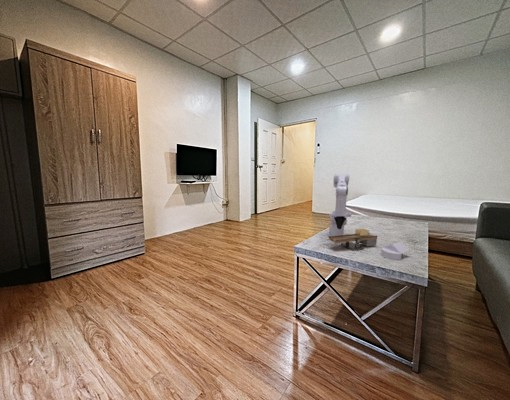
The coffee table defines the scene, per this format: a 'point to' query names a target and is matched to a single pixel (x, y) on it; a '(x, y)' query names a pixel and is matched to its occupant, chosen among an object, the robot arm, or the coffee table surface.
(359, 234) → the rider
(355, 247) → the grey metal bracket
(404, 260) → the coffee table surface
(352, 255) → the coffee table surface
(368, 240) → the beam
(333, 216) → the robot arm
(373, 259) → the coffee table surface
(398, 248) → the wedge on round base
